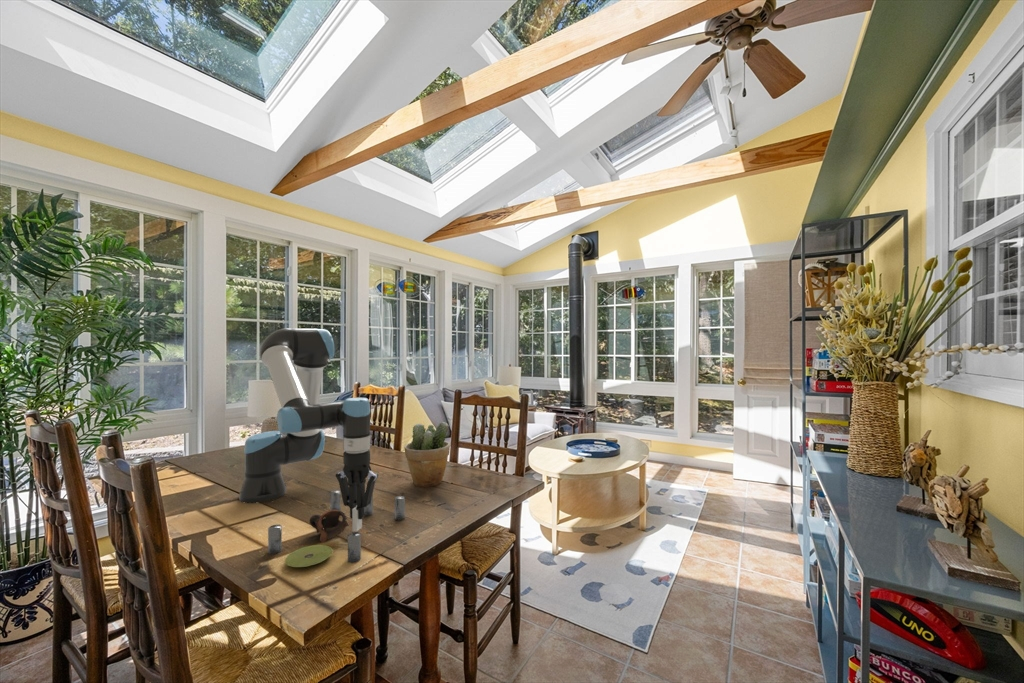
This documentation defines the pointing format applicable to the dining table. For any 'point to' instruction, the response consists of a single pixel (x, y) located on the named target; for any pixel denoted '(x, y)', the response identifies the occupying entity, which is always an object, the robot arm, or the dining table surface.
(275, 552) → the posts
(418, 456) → the potted plant
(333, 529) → the pottery mug
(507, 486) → the dining table surface
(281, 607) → the dining table surface
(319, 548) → the green disc
